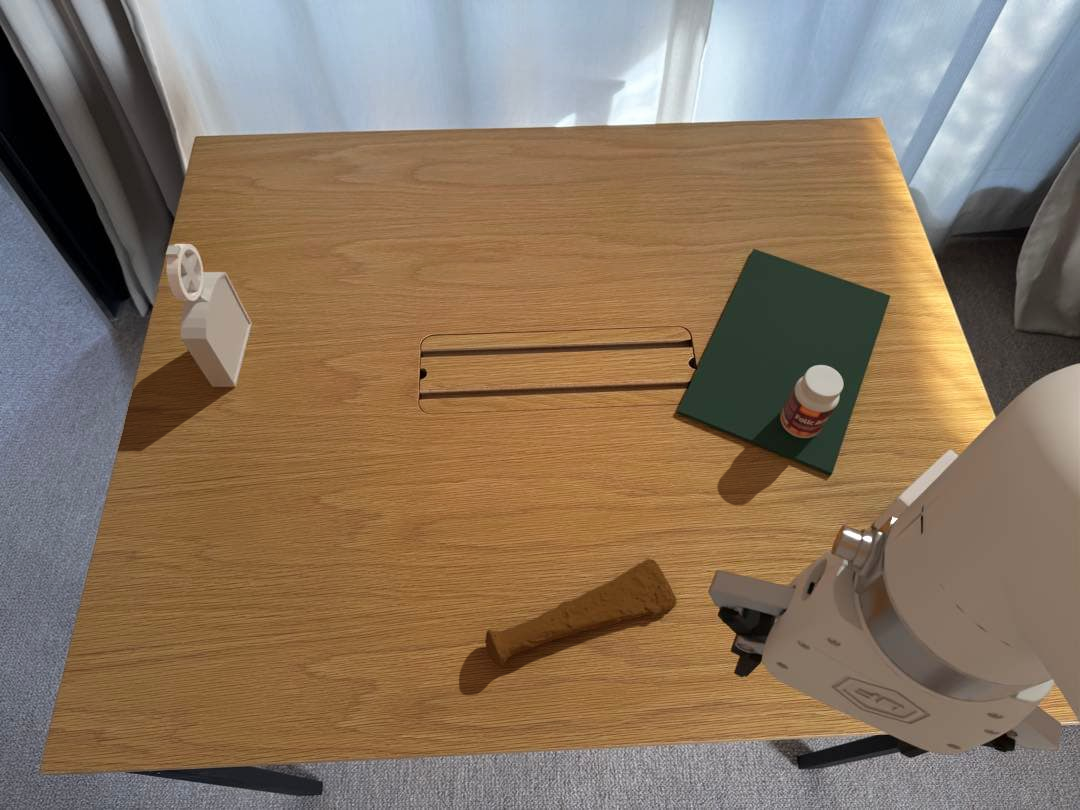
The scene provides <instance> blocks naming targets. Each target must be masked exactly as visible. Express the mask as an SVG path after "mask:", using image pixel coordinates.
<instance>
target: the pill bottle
mask: <svg viewBox="0 0 1080 810" xmlns="http://www.w3.org/2000/svg"><path fill="white" fill-rule="evenodd" d="M842 389H843V379H842V377H841V375H840V374H839V373H838V372H837V371H836V370H835V369H833V368H831V367H829V366H825V365H816V366H813V367H811V368H809V369H808V370H807V372H806V373H805V375H804V376H803V377H801V378H800V379H799V380H798V381H797V383H796V385H795V387H794V389H793V391H792V392H791V394H790V396H789V398H788V400H787V402H786V404H785V406H784V407H783V409H782V412H781V416H780V418H781V423H782V425H783V427H784V428H785V430H786V431H787V432H789V433H790V434H792V435H793V436H796V437H799V438H811V437H813V436H815V435H817V434H818V433H819V432H820V430H821V429H822V427H823V426H824V424H825V423H826V421H827V420H828V418H829V417H830V415H831V414H832V412H833V410H834V409H835V407H836V406H837V404H838V402H839V396H840V395H839V394H840V393H841V391H842Z"/></svg>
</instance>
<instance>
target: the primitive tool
mask: <svg viewBox="0 0 1080 810" xmlns="http://www.w3.org/2000/svg"><path fill="white" fill-rule="evenodd" d="M676 605H677V597H676V595H675V594H674V592H673V589H672V587H671V584H670V583H669V581H668V580H667V578H666V576H665V574H664V573H663V571H662V569H661V567H660V566H659V563H657V562H656V560H655V559H650V558H648V559H646V560H644V561H642V562H639V563H637V565H635V566H633V567H631V568H630V569H628V570H627V571H625V572H623V573H622V574H620V575H619V576H617V577H615V578H614V579H612V580H610V581H608V582H607V583H604V584H602V585H600V586H598V587H596V588H593V589H591V590H588V591H587V592H586V593H583V594H582V595H580V596H578V597H576V598H572V599H571V600H564V601H563V602H561V603H560V604H559V605H558V606H557V607H556V608H554V609H553V608H552V609H551V610H548V611H545V612H544V613H542V614H541V615H539V616H538V617H535V618H532V619H529V620H527V621H525V622H522V623H520V624H517V625H515V626H512V627H510V628H509V627H508V628H505V629H503V630H491V629H488V630H487V631H486V633H485V639H484V643H485V648H484V649H485V651H486V653H487V655H488V657H489V659H490V662H491V663H492V664H493V665H495V666H497V667H499V668H503V666H504V665H505V663H506V662H507V661H508V659H509V658H510V657H511V656H514V655H517V654H519V653H521V652H523V651H527V650H530V649H534V647H537V646H540V645H543V644H546V643H549V642H551V641H555V640H558V639H561V638H565V637H569V636H571V635H574V634H578V633H580V632H581V633H582V632H584V631H588V630H591V629H596V628H599V627H607V626H609V625H616V624H618V622H623V621H626V620H629V619H634V618H639V617H643V616H644V617H645V616H648V615H650V616H651V617H656V616H657V615H658V614H661V613H667V612H669V611H670V609H672V608H674V607H675V606H676Z"/></svg>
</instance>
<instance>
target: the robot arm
mask: <svg viewBox="0 0 1080 810" xmlns="http://www.w3.org/2000/svg"><path fill="white" fill-rule="evenodd" d="M866 530H867V529H865V528H864V529H863V528H862V529H861V530H860V531H859V530H858V529H855V528H853V527H851V526H848V525H845V524H843V525H842V526H841V527H840V529H839V530H838V533H837V534H836V536H835V538H834V541H833V543H832V546H831V549H830V550H828V551H827V552H825V553H823V554H822V555H820V556H819V557H818V558H816V559H815V560H814V561H812V562H811V563H810V564H809V565H808V566H806V567H805V568H804V569H803V570H801V572H800V573H799V574H797V575H796V577H794V578H793V580H792V581H791V582H790V583H789V584H788V585H784V584H781V583H777V582H773V581H767V580H763V579H760V578H755V577H751V576H746V575H742V574H737V573H734V572H729V571H725V570H721V569H720V570H719V569H718V570H716V571H715V573H714V576H713V577H712V580H711V583H710V586H709V588H708V595H709V596H710V599H711V600H712V603H713V604H714V605H715V607H718V609H719V610H718V613H717V617H718V618H719V619H720V620H721V622H722V623H724V624H725V625H726V626H727V627H728V628H729V629H730V630H731V631H732V632H733V633H735V637H734V638H733V642H732V645H731V646H730V647H731V648H730V653H733V654H734V655H736V656H738V659H737V663H736V664H735V665H736V666H735V668H734V672H733V674H734V675H736V676H737V677H740V678H744V677H746V678H747V677H748V676H749V675H750V674H751V673H752V672H754V670H755V669H756V668H758V666H759V665H761V663H762V664H763V666H764V668H765V669H766V671H767V672H768V673H769V674H770V675H771V676H772V677H774V678H775V679H776V680H778V681H780V683H783V684H785V685H786V686H788V687H790V688H792V689H794V690H795V691H798V692H800V693H802V694H804V695H806V696H808V697H810V698H812V699H814V700H816V701H818V702H820V703H822V704H824V705H827V707H828V706H829V707H830V708H832V709H835V710H837V711H838V712H841V713H843V714H845V715H847V716H850V717H851V718H853V719H856V720H857V721H860V722H861V723H865V724H866V725H868V726H870V727H873V728H874V729H877V730H879V731H881V732H882V733H886V734H888V735H889V736H892V737H894V738H896V739H898V743H897V751H899V753H900V754H901V755H902V756H904V757H907V758H909V759H913V758H916V757H920V756H922V755H924V754H928V753H934V754H937V755H941V756H948V755H949V756H950V755H955V754H961V753H964V752H968V751H970V750H973V749H975V748H978V747H980V746H982V747H987V748H991V749H994V750H995V751H996V752H997V751H998V752H1001V753H1007V752H1014V751H1015V750H1016V746H1020V747H1021V748H1022V749H1027V750H1037V751H1046V752H1059V750H1060V743H1061V736H1062V727H1063V725H1062V723H1061V722H1060V721H1058V720H1057V719H1056V718H1055V717H1053V716H1052V715H1051V714H1049V713H1048V712H1047V711H1046V710H1044V709H1042V708H1041V707H1040V704H1041V703H1042V702H1043V701H1044V700H1045V699H1046V697H1047V696H1048V695H1049V694H1050V693H1051V691H1052V690H1053V688H1054V686H1055V685H1056V686H1057V688H1058V690H1059V691H1060V692H1061V694H1062V695H1063V698H1064V699H1065V700H1066V702H1067V704H1068V705H1069V707H1070V709H1071V710H1072V712H1073V714H1074V716H1075V717H1076V719H1077V720H1078V722H1079V723H1080V363H1075V364H1071V365H1069V366H1066V367H1063V368H1060V369H1058V370H1056V371H1053V372H1050V373H1048V374H1046V375H1044V376H1043V377H1041V378H1039V379H1038V380H1036V381H1034V382H1033V383H1032V384H1030V385H1029V386H1028V387H1027V388H1025V389H1024V390H1023V391H1022V392H1021V393H1020V394H1019V395H1017V396H1016V397H1015V398H1013V400H1011V401H1010V403H1009V404H1008V405H1006V407H1004V408H1003V410H1001V411H1000V412H999V414H997V415H996V417H994V419H993V420H992V421H991V422H990V423H989V424H988V425H986V427H984V429H983V430H982V431H981V432H980V433H979V434H978V435H977V436H976V437H975V438H974V439H973V440H972V441H971V443H969V444H968V445H967V446H966V448H965V449H964V450H962V452H961V453H960V454H959V456H958V457H957V458H956V459H955V460H954V461H953V462H952V463H951V464H950V465H949V466H948V467H947V468H946V469H945V470H944V471H943V472H942V473H941V474H940V476H939V477H938V478H937V479H936V480H935V481H934V482H933V483H932V484H931V485H930V486H929V487H928V488H927V489H926V490H925V491H924V492H923V493H922V494H921V495H920V496H919V497H918V498H917V499H916V500H915V501H914V502H913V503H912V504H911V505H910V506H909V507H908V508H907V509H906V510H905V511H904V512H903V513H902V514H901V515H900V516H899V517H898V518H897V517H894V516H891V517H890V518H889V519H888V520H887V521H886V523H885V524H884V525H883V526H882V527H881V528H880V529H879V530H878V531H877V530H875V529H872V530H871V532H869V531H866Z"/></svg>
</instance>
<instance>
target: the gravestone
mask: <svg viewBox="0 0 1080 810" xmlns="http://www.w3.org/2000/svg"><path fill="white" fill-rule="evenodd" d="M165 256H166V258H167V259H166V279H167V282H168V286H169V290H170V292H171V293H172V295H173V296H174V298H175V299H177V300H179V301H180V302H181V301H183V305H182V309H181V314H180V315H181V316H180V328H179V329H180V340H181V341H182V343H183V345H184V346H185V347H186V349H187V350H188V352H189V353H190V355H191V356H192V358H193V360H194V361H195V363H196V364H197V365H198V368H199V369H200V371H201V372H202V373H203V375H204V376H205V378H206V379H207V381H208V382H209V384H210V385H211V387H213V388H236V387H237V384H238V380H239V377H240V376H239V375H240V372H241V368H242V364H243V362H244V361H243V360H244V356H245V352H246V348H247V345H248V341H249V336H250V333H251V329H252V325H253V322H252V320H251V319H250V317H249V315H248V313H247V310H246V309H245V307H244V304H243V303H242V301H241V299H240V297H239V295H238V293H237V291H236V289H235V287H234V285H233V283H232V281H231V279H230V277H229V276H228V273H227V272H226V271H204V266H203V262H202V258H201V255H200V253H199V251H198V249H197V248H196V246H195V245H193V244H191V243H175V244H172V245H170V244H169V245H168V246H167V249H166V252H165Z"/></svg>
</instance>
